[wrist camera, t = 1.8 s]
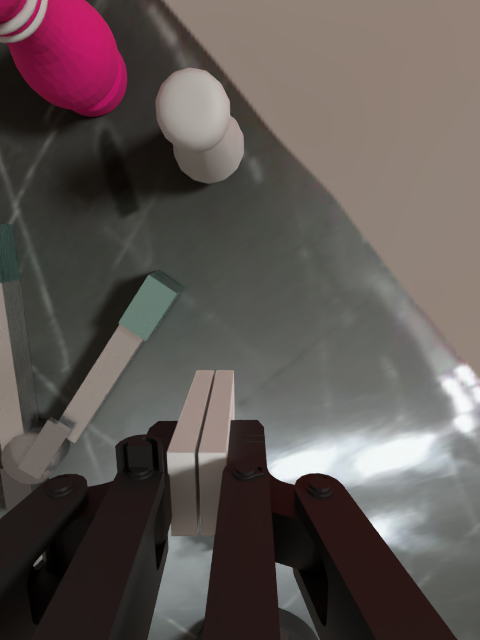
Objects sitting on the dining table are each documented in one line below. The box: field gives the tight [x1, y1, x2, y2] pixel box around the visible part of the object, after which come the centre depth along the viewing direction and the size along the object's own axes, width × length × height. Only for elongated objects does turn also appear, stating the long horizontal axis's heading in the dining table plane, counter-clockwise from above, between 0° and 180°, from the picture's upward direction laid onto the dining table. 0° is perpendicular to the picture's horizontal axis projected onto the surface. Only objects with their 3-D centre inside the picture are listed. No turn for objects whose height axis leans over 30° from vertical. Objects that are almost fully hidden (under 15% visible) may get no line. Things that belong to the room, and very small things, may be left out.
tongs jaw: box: [18, 270, 184, 480], centre depth 37 cm, size 22×4×4 cm, turn 146°
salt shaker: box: [155, 68, 244, 184], centre depth 28 cm, size 6×6×13 cm
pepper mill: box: [0, 0, 127, 117], centre depth 23 cm, size 7×7×20 cm
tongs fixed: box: [0, 224, 70, 513], centre depth 37 cm, size 29×6×4 cm, turn 1°
